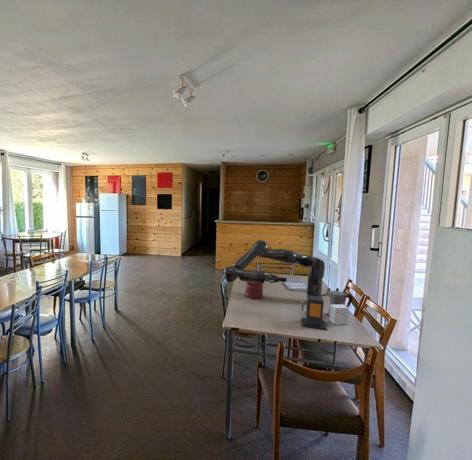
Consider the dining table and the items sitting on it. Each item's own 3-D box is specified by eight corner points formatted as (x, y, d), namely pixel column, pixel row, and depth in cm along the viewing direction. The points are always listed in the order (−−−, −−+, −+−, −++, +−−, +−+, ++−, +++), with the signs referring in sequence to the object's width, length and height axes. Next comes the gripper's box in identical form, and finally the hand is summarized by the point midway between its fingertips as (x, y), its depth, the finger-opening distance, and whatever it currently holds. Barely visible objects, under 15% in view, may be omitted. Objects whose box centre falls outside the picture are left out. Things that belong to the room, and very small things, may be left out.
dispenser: (301, 318, 179) (303, 293, 178) (323, 322, 175) (325, 296, 173) (302, 326, 168) (304, 299, 166) (326, 330, 164) (327, 302, 162)
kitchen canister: (256, 300, 212) (257, 276, 211) (241, 296, 222) (242, 273, 220) (266, 296, 221) (267, 274, 219) (251, 292, 230) (252, 270, 229)
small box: (341, 321, 177) (343, 304, 176) (347, 324, 171) (349, 307, 170) (329, 321, 176) (330, 304, 175) (334, 324, 171) (335, 307, 170)
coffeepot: (321, 314, 186) (323, 287, 184) (327, 311, 193) (328, 284, 191) (348, 322, 175) (351, 293, 173) (353, 318, 181) (355, 289, 180)
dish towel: (290, 290, 236) (290, 287, 236) (282, 282, 260) (282, 279, 259) (312, 291, 235) (312, 288, 234) (302, 283, 258) (302, 280, 258)
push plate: (301, 307, 176) (301, 298, 176) (302, 307, 176) (303, 298, 175) (301, 310, 170) (301, 302, 170) (303, 310, 170) (303, 302, 169)
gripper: (255, 273, 175) (286, 276, 168) (257, 268, 187) (286, 271, 181) (255, 285, 175) (286, 288, 169) (257, 280, 188) (286, 283, 181)
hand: (286, 279), depth 175 cm, fingers closed
